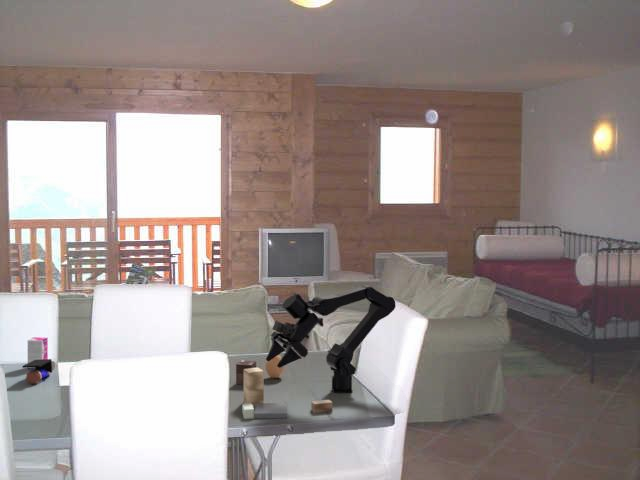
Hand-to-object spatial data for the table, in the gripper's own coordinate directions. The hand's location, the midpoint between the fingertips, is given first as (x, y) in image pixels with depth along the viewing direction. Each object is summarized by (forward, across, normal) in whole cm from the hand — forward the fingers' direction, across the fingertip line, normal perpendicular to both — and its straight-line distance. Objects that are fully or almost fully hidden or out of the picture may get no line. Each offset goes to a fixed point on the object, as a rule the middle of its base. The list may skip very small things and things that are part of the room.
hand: (272, 363), depth 230 cm
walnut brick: (+2, +16, +16) cm, 23 cm away
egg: (+1, -25, +17) cm, 30 cm away
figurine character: (+56, -60, -38) cm, 90 cm away
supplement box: (+55, -78, -37) cm, 102 cm away
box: (+9, -24, +9) cm, 27 cm away
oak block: (+13, 0, +4) cm, 14 cm away
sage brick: (+18, +10, 0) cm, 21 cm away
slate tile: (+12, +12, +5) cm, 18 cm away
